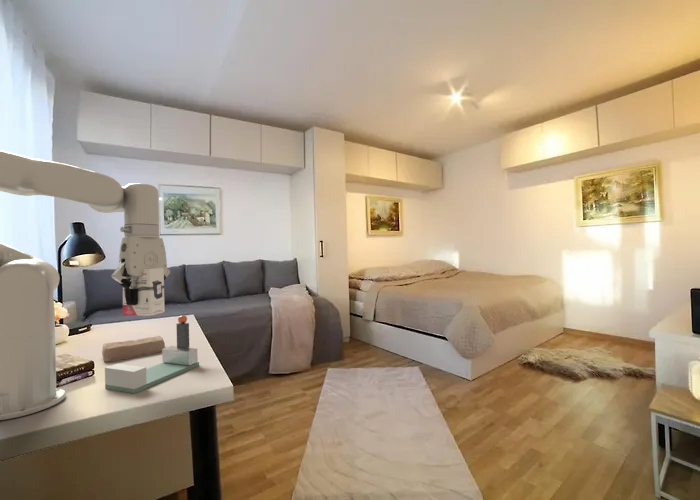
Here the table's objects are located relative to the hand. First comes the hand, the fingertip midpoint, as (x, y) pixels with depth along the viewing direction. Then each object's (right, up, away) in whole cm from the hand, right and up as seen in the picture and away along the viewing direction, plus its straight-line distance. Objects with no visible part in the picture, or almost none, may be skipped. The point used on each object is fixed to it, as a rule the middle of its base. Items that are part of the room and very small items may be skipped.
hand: (143, 302), depth 81 cm
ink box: (0, -3, 0) cm, 3 cm away
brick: (-18, -21, +23) cm, 36 cm away
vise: (+2, -20, +3) cm, 20 cm away
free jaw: (+4, -19, +10) cm, 22 cm away
